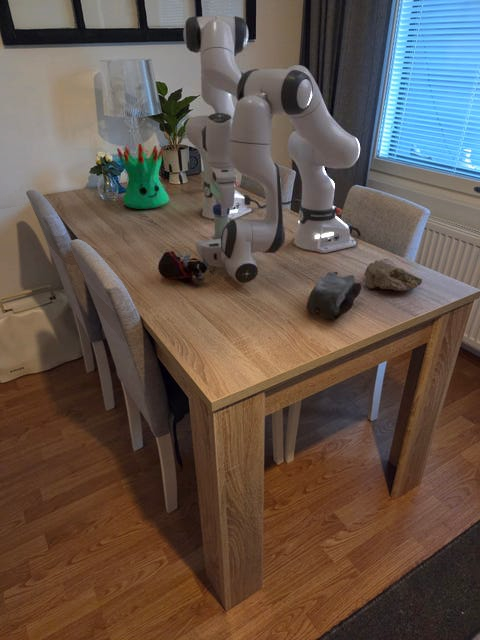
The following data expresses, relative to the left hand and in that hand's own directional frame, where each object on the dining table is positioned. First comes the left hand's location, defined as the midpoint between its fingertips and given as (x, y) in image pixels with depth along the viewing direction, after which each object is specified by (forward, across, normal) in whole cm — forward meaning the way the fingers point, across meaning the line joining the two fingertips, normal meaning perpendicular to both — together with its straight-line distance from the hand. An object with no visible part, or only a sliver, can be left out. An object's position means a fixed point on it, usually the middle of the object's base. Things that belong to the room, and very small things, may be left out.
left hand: (221, 212), depth 148 cm
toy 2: (+15, +17, -17) cm, 28 cm away
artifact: (+15, +35, +44) cm, 58 cm away
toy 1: (+15, -64, -21) cm, 69 cm away
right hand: (+9, -1, 0) cm, 9 cm away
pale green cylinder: (+15, 0, 0) cm, 15 cm away
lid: (-2, 0, 0) cm, 2 cm away
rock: (+15, +44, +22) cm, 52 cm away
